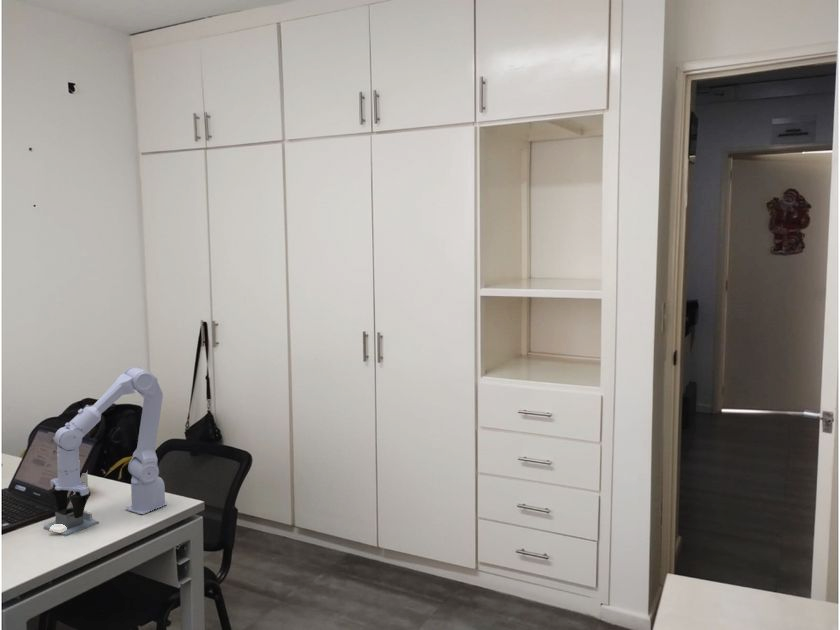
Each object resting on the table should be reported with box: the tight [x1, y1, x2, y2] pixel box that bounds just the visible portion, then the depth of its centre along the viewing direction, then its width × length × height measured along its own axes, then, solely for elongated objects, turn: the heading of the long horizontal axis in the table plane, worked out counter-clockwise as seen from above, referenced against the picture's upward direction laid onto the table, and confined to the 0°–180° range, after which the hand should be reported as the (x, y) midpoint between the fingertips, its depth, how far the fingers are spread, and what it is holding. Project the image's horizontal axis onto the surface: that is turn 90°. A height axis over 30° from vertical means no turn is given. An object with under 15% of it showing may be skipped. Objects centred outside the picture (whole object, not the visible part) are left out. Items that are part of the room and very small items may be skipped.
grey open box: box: [54, 505, 84, 529], centre depth 202 cm, size 5×5×4 cm
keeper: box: [43, 510, 100, 537], centre depth 203 cm, size 10×10×4 cm
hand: (70, 514), depth 202 cm, fingers open, 7 cm apart
